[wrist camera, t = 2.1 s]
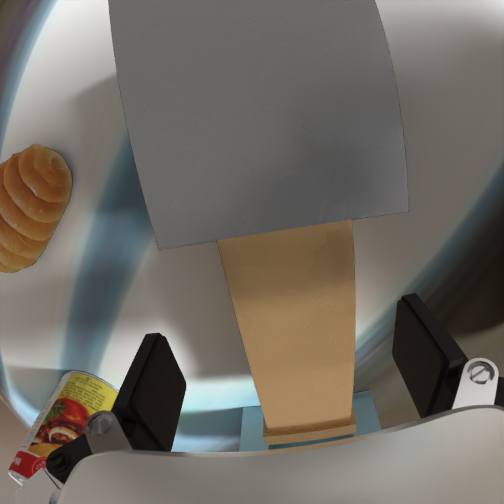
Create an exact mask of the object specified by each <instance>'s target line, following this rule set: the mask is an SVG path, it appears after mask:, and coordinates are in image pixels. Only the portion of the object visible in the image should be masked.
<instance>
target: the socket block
mask: <svg viewBox="0 0 504 504" xmlns="http://www.w3.org/2000/svg"><path fill="white" fill-rule="evenodd" d="M352 406H353V410H354V414H355V418H356V423H357V426H356V433H353V434H348V435H343V436H337V437H332V438H325V439H319V440H312V441H304V442H296V443H286V444H275V445H265V442H264V439H263V412H262V408H261V406H256V407H243V416H242V427H241V439H240V450H239V452H245V451H260V450H272V449H282V448H291V447H299V446H306V445H312V444H319V443H325V442H330V441H336V440H341V439H346V438H351V437H355V436H360V435H364V434H368V433H372V432H376V431H380V430H381V428H380V424H379V421H378V417H377V414H376V410H375V407H374V403H373V400H372V397H371V393H370V390H367V391H362V392H357V393H353V396H352Z"/></svg>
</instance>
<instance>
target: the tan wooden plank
mask: <svg viewBox="0 0 504 504" xmlns="http://www.w3.org/2000/svg"><path fill="white" fill-rule="evenodd" d="M217 244H218V248H219V252H220V256H221V260H222V264H223V268H224V272H225V276H226V280H227V284H228V288H229V292H230V295H231V299H232V303H233V307H234V311H235V315H236V318H237V322H238V326H239V330H240V333H241V337H242V341H243V345H244V348H245V352H246V355H247V359H248V363H249V366H250V370H251V373H252V377H253V380H254V384H255V388H256V391H257V395H258V398H259V401H260V405H261V408H262V412H263V439H264V442H265V445H275V444H286V443H296V442H304V441H312V440H319V439H325V438H332V437H337V436H343V435H348V434H353V433H356V426H357V423H356V418H355V414H354V410H353V406H352V396H353V380H354V360H355V265H354V244H353V228H352V220H346V221H339V222H333V223H326V224H319V225H312V226H306V227H299V228H293V229H286V230H280V231H273V232H267V233H261V234H254V235H248V236H242V237H236V238H230V239H223V240H217Z"/></svg>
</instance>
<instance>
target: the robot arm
mask: <svg viewBox="0 0 504 504" xmlns="http://www.w3.org/2000/svg"><path fill="white" fill-rule="evenodd" d="M392 354H393V358H394V361H395V363H396V365H397V367H398V369H399V371H400V373H401V375H402V377H403V379H404V382H405V384H406V386H407V388H408V390H409V392H410V395H411V397H412V399H413V401H414V404H415V406H416V408H417V410H418V413H419V415H420V417H421V418H422V419H419V420H416V421H412V422H409V423H406V424H402V425H399V426H395V427H391V428H388V429H384V430H380V431H376V432H372V433H368V434H364V435H360V436H355V437H351V438H346V439H341V440H336V441H330V442H325V443H319V444H312V445H306V446H299V447H291V448H282V449H272V450H260V451H245V452H218V453H196V452H170V451H171V449H172V446H173V441H174V437H175V433H176V428H177V424H178V420H179V416H180V412H181V408H182V404H183V399H184V395H185V391H186V381H185V379H184V377H183V375H182V372H181V370H180V368H179V366H178V364H177V361H176V359H175V357H174V355H173V353H172V350H171V348H170V346H169V343H168V341H167V339H166V337H165V336H162V335H161V334H160V333H152V334H146V335H145V337H144V339H143V341H142V343H141V345H140V347H139V349H138V352H137V354H136V356H135V358H134V360H133V362H132V364H131V366H130V368H129V371H128V373H127V375H126V377H125V379H124V382H123V384H122V386H121V388H120V390H119V393H118V395H117V397H116V399H115V402H114V404H113V407H112V409H111V411H106V410H102V411H98V412H95V413H94V414H92V415H91V416H90V417H89V418H88V419H87V420H86V422H85V425H84V432H85V433H84V434H83V435H81V436H79V437H77V438H75V439H74V440H72V441H70V442H68V443H66V444H64V445H62V446H61V447H59V448H57V449H55V450H53V451H52V452H51V453H50V454H49V455H48V457H47V459H46V468H45V469H43V468H41V469H39V470H38V471H37V472H36V473H35V474H34V475H33V476H32V477H31V478H29V479H28V480H27V481H26V482H25V483H24V484H23V485H22V486H21V487H20V488H19V489H17V491H16V492H15V494H14V504H504V378H503V377H499V376H498V369H497V367H496V366H495V365H494V363H493V362H491V361H489V360H487V359H484V358H475V359H472V360H470V361H469V360H468V358H467V357H466V356H465V354H464V353H463V351H462V350H461V349H460V347H459V346H458V344H457V343H456V342H455V340H454V339H453V338H452V336H451V335H450V334H449V332H448V331H447V330H446V328H445V327H444V326H443V324H442V323H441V322H440V321H439V320H437V319H436V318H435V317H434V315H433V314H432V313H431V312H430V310H429V309H428V308H427V306H426V305H425V304H424V303H423V301H422V300H421V299H420V298H419V296H418V295H417V294H416V293H412V294H408V295H404V296H402V297H401V300H398V302H397V311H396V322H395V332H394V341H393V349H392Z"/></svg>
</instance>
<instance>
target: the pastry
mask: <svg viewBox="0 0 504 504" xmlns="http://www.w3.org/2000/svg"><path fill="white" fill-rule="evenodd" d="M72 184H73V181H72V175H71V171H70V170H69V168H68V166H67V164H66V162H65V161H64V159H63V158H62V156H61V155H60V154H58V153H57V152H55V151H53V150H51V149H49V148H46V147H43V146H40V145H36V144H34V145H32V146H30V147H29V148H27V149H25V150H24V151H22V152H20V153H16V154H13V155H12V157H11V158H10V159H9V160H7V161H6V162H4V163H2V164H1V165H0V271H1V272H5V273H14V272H18V271H19V270H20V269H22V268H26V267H29V266H31V265H33V264H34V263H35V262H36V260H37V259H38V257H39V256H40V254H41V253H42V252H43V250H44V249H45V247H46V245H47V243H48V242H49V240H50V238H51V237H52V235H53V233H54V231H55V229H56V227H57V225H58V223H59V220H60V218H61V217H62V215H63V213H64V211H65V208H66V206H67V204H68V202H69V198H70V192H71V188H72Z"/></svg>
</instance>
